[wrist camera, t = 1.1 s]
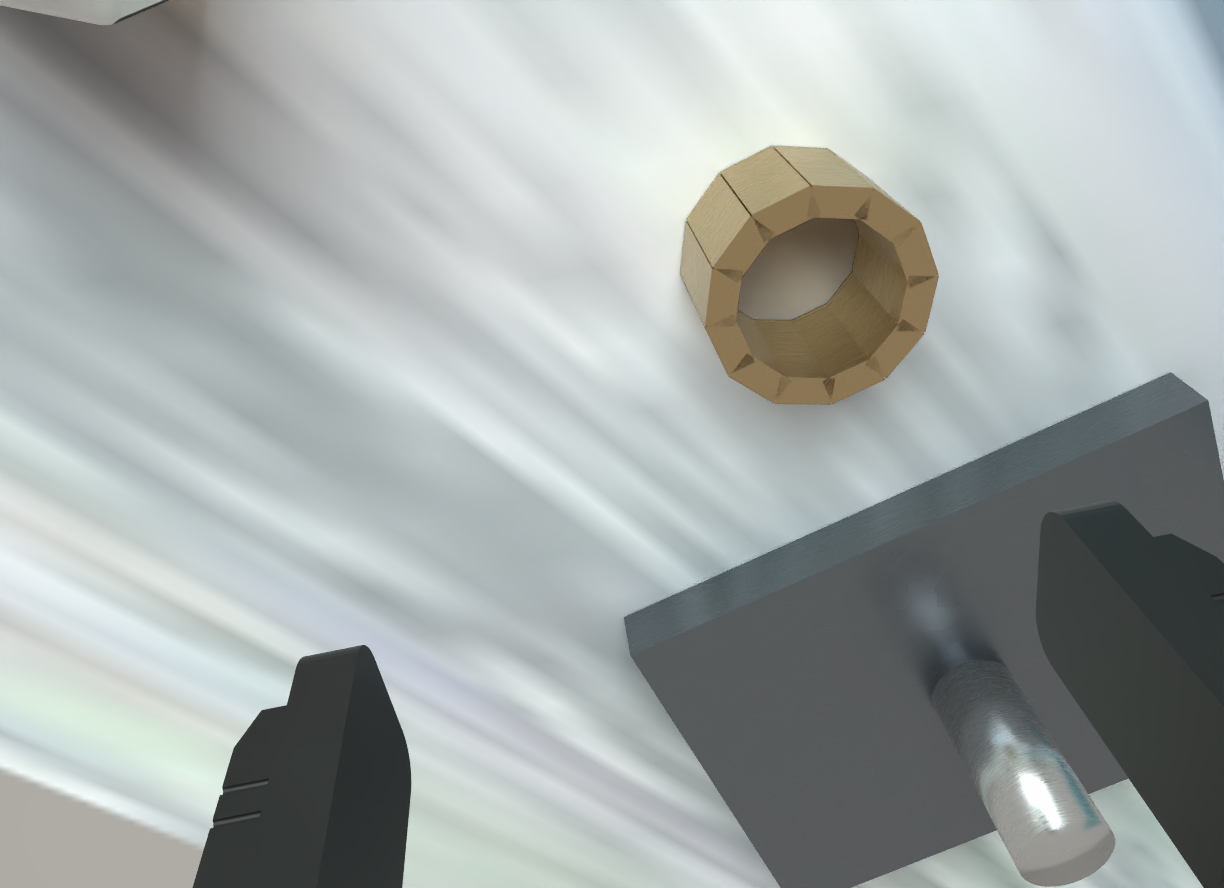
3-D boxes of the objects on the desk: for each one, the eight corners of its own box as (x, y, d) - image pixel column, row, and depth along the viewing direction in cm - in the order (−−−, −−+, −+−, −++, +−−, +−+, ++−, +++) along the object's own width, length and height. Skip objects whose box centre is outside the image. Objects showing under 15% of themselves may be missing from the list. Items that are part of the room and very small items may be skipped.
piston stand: (1170, 372, 33) (1377, 527, 26) (1237, 686, 41) (1411, 878, 33) (623, 617, 36) (660, 824, 28) (783, 868, 44) (845, 1085, 36)
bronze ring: (845, 108, 28) (895, 143, 25) (908, 290, 31) (961, 343, 27) (648, 208, 29) (670, 255, 25) (729, 375, 32) (758, 438, 28)
